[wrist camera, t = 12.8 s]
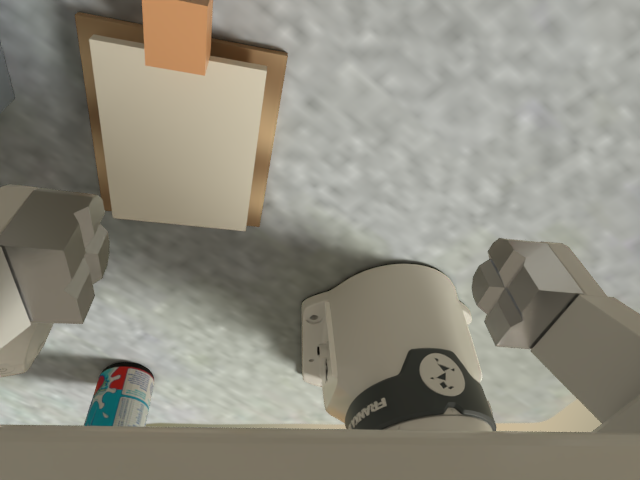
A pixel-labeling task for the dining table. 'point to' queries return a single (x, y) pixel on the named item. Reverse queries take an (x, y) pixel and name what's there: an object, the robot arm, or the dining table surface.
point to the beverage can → (121, 396)
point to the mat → (219, 48)
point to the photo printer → (23, 349)
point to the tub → (4, 84)
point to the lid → (177, 120)
